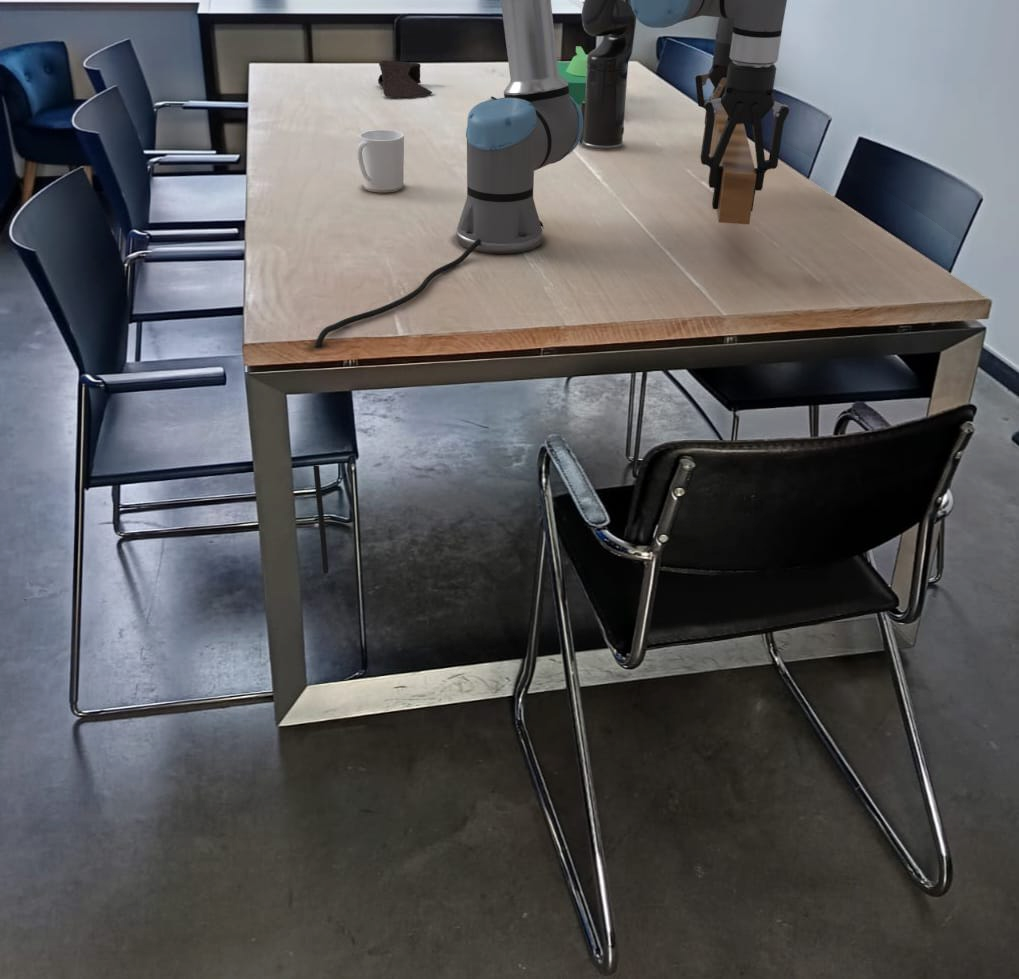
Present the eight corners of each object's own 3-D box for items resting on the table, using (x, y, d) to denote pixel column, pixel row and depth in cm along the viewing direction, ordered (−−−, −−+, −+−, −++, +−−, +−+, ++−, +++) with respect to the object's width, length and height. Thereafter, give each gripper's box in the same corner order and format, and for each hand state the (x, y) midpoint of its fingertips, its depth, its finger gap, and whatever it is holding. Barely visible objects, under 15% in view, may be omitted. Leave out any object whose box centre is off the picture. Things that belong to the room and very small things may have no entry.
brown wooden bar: (749, 224, 179) (756, 174, 175) (718, 222, 179) (725, 172, 175) (732, 140, 225) (737, 99, 221) (707, 138, 226) (712, 97, 221)
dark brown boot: (443, 87, 294) (392, 77, 287) (436, 115, 299) (385, 106, 292) (421, 62, 307) (371, 52, 300) (414, 89, 311) (365, 80, 304)
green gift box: (609, 43, 301) (626, 67, 271) (606, 89, 307) (622, 119, 277) (545, 41, 300) (555, 66, 270) (543, 88, 306) (553, 117, 276)
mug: (383, 178, 227) (381, 127, 222) (414, 186, 223) (413, 135, 217) (344, 189, 220) (341, 137, 215) (376, 198, 215) (373, 145, 210)
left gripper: (807, 61, 175) (783, 204, 187) (693, 54, 176) (677, 197, 188) (814, 70, 168) (788, 218, 181) (695, 64, 170) (678, 211, 182)
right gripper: (771, 37, 212) (758, 127, 221) (697, 33, 213) (686, 123, 222) (775, 44, 205) (761, 137, 214) (698, 40, 207) (687, 132, 216)
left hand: (732, 207), depth 184 cm, fingers closed on brown wooden bar, 5 cm apart
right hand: (723, 129), depth 218 cm, fingers closed on brown wooden bar, 5 cm apart
